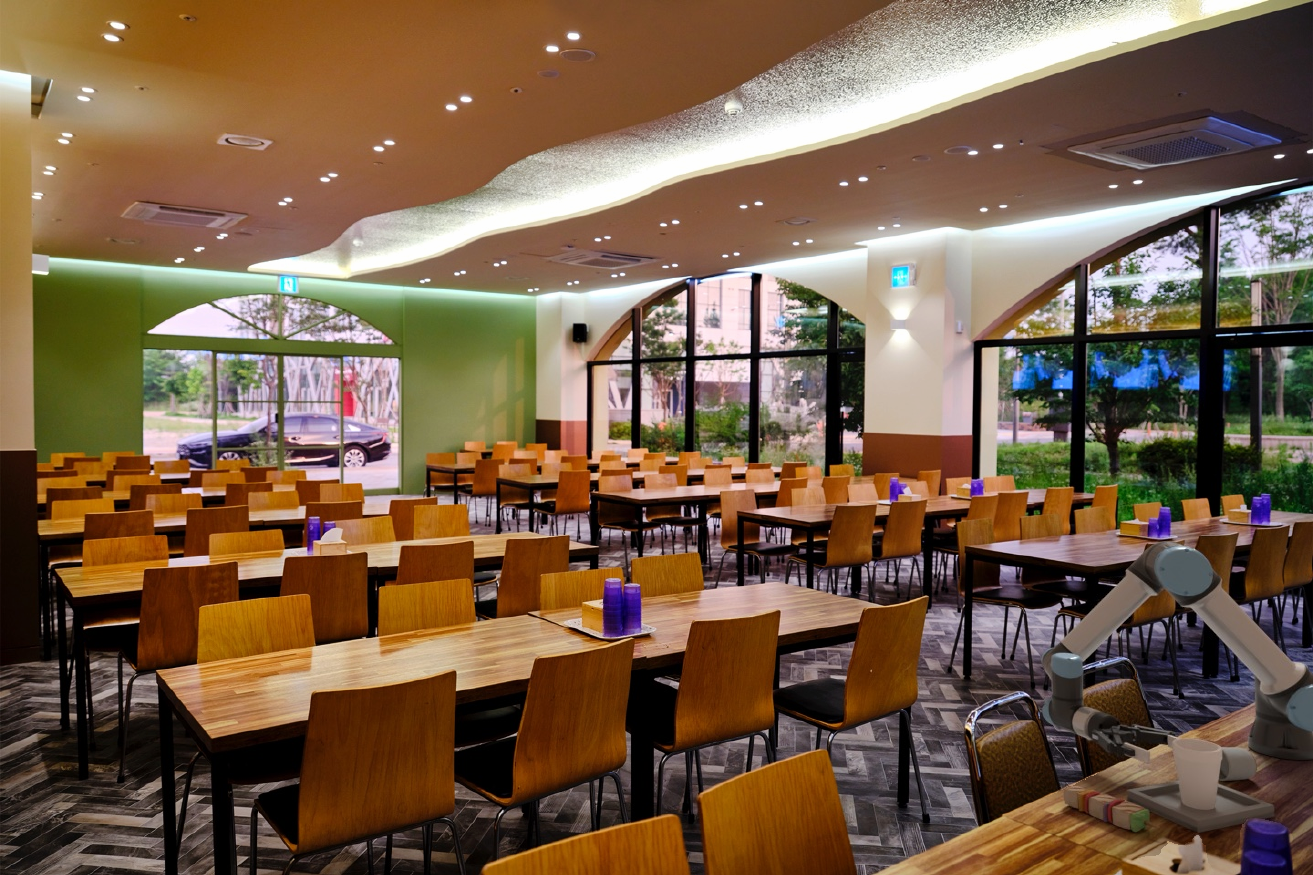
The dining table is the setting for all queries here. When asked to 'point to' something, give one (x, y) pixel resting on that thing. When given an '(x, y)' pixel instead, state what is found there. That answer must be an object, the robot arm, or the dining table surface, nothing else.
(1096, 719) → the robot arm
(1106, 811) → the skewer
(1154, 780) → the dining table surface
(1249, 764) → the ceramic mug
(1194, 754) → the foam cup
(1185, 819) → the cafeteria tray
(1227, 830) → the dining table surface
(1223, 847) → the dining table surface
